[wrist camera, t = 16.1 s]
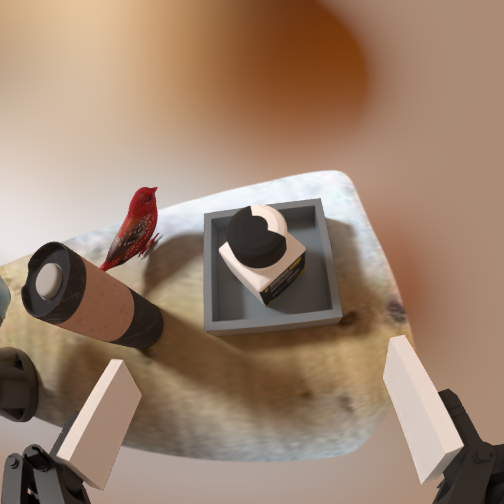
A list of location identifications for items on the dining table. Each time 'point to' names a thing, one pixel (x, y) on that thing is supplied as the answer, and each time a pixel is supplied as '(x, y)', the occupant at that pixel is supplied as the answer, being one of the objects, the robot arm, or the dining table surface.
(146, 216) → the decorative bird figurine
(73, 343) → the dining table surface
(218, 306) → the open-top bin
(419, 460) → the robot arm
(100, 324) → the travel mug
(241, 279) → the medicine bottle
